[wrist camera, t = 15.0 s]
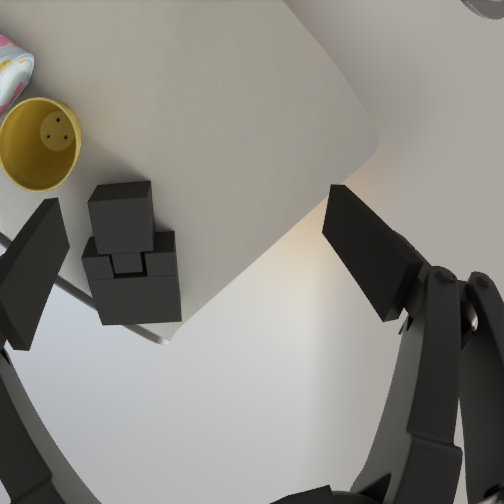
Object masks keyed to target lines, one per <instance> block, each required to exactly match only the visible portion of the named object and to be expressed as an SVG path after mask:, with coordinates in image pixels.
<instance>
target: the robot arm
mask: <svg viewBox="0 0 504 504" xmlns="http://www.w3.org/2000/svg"><path fill="white" fill-rule="evenodd" d="M489 1H503V0H489ZM322 233H323V235H324V236H325V237H326V239H327V240H328V242H329V243H330V244H331V246H332V247H333V249H334V250H335V252H336V253H337V254H338V256H339V257H340V259H341V260H342V262H343V263H344V264H345V266H346V267H347V269H348V270H349V271H350V273H351V275H352V276H353V277H354V279H355V280H356V282H357V283H358V285H359V286H360V288H361V289H362V291H363V292H364V294H365V295H366V297H367V298H368V300H369V301H370V303H371V305H372V306H373V308H374V309H375V311H376V312H377V314H378V315H379V317H380V318H381V320H382V322H386V321H391V320H395V319H398V318H399V316H400V314H401V312H402V310H403V308H405V310H406V311H407V312H408V316H407V318H406V320H405V322H404V324H403V326H402V327H401V329H400V331H399V333H398V334H401V333H402V332H403V334H402V339H401V344H400V349H399V353H398V357H397V362H396V366H395V370H394V374H393V378H392V382H391V386H390V389H389V393H388V397H387V400H386V404H385V407H384V411H383V414H382V417H381V420H380V423H379V427H378V430H377V433H376V436H375V439H374V441H373V445H372V447H371V450H370V453H369V455H368V458H367V461H366V463H365V465H364V468H363V469H362V471H361V473H360V474H359V475H358V477H357V478H356V480H355V482H354V483H353V485H352V487H351V489H350V491H349V492H347V491H331V488H330V485H326V486H323V487H320V488H316V489H312V490H309V491H305V492H300V493H296V494H292V495H288V496H286V497H284V498H281V499H280V500H277V501H275V502H273V503H270V504H453V502H454V498H455V494H456V489H457V485H458V480H459V476H460V470H461V465H462V455H463V452H462V450H461V448H460V447H458V446H455V445H454V433H455V426H456V418H457V409H458V399H459V401H460V409H461V416H462V425H463V436H464V450H465V470H466V471H465V472H466V491H467V498H468V504H504V302H503V300H502V298H501V296H500V294H499V292H498V290H497V288H496V286H495V284H494V282H493V281H492V280H491V279H490V278H489V276H487V275H485V274H484V273H480V272H472V273H471V275H470V277H469V279H468V281H461V280H457V277H456V276H455V275H454V274H453V273H452V272H451V271H450V270H448V269H446V268H444V267H440V266H431V265H430V264H429V263H428V262H427V260H426V259H425V258H424V257H423V256H422V255H421V254H420V253H419V252H418V251H417V250H415V248H414V247H413V246H412V245H411V244H410V243H409V242H408V241H407V240H406V239H405V238H404V237H403V236H402V235H400V234H399V233H397V232H396V231H394V230H392V229H391V228H390V227H389V226H388V225H386V223H385V222H384V221H383V220H382V219H381V218H380V217H379V216H377V215H376V214H375V213H374V212H373V211H372V210H371V209H370V208H369V207H368V206H367V205H366V204H365V203H364V202H363V201H362V200H361V199H360V198H358V197H357V196H356V195H355V194H354V193H353V192H352V191H351V190H350V189H349V188H347V187H346V186H345V185H332V184H331V187H330V193H329V198H328V204H327V209H326V214H325V220H324V225H323V230H322ZM69 248H70V245H69V242H68V238H67V234H66V230H65V226H64V222H63V218H62V214H61V209H60V205H59V200H58V198H50V199H44V201H43V202H42V203H41V204H40V206H39V207H38V208H37V209H36V211H35V212H34V213H33V214H32V216H31V217H30V218H29V220H28V221H27V222H26V224H25V225H24V226H23V228H22V229H21V230H20V232H19V233H18V235H17V236H16V237H15V239H14V240H13V242H12V243H11V245H10V246H9V247H8V249H7V250H6V252H5V253H4V254H2V255H1V256H0V480H1V482H2V483H3V485H4V487H5V489H6V491H7V493H8V495H9V497H10V499H11V503H10V504H102V503H101V502H99V500H97V498H96V497H95V496H94V495H93V494H92V493H91V491H90V490H89V489H88V488H87V486H86V485H85V484H84V483H83V481H82V480H81V479H80V477H79V476H78V475H77V473H76V472H75V471H74V470H73V468H72V467H71V465H70V464H69V463H68V461H67V460H66V458H65V457H64V455H63V454H62V452H61V451H60V449H59V448H58V446H57V445H56V443H55V442H54V440H53V439H52V437H51V436H50V434H49V432H48V431H47V429H46V428H45V426H44V424H43V422H42V421H41V419H40V417H39V416H38V414H37V412H36V410H35V408H34V407H33V405H32V403H31V401H30V399H29V397H28V395H27V393H26V391H25V389H24V388H23V385H22V383H21V381H20V379H19V377H18V375H17V373H16V371H15V368H14V366H13V364H12V362H11V359H10V357H9V355H8V353H7V351H6V350H5V348H4V345H5V342H6V340H8V342H9V343H10V345H11V346H12V348H13V350H24V351H29V350H30V347H31V344H32V341H33V338H34V335H35V332H36V329H37V326H38V323H39V320H40V318H41V315H42V312H43V310H44V307H45V304H46V302H47V299H48V296H49V294H50V292H51V289H52V287H53V284H54V282H55V279H56V277H57V275H58V272H59V270H60V268H61V266H62V263H63V261H64V259H65V257H66V255H67V253H68V250H69ZM477 320H478V326H477V329H476V330H475V327H474V325H475V323H476V322H477Z"/></svg>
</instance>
